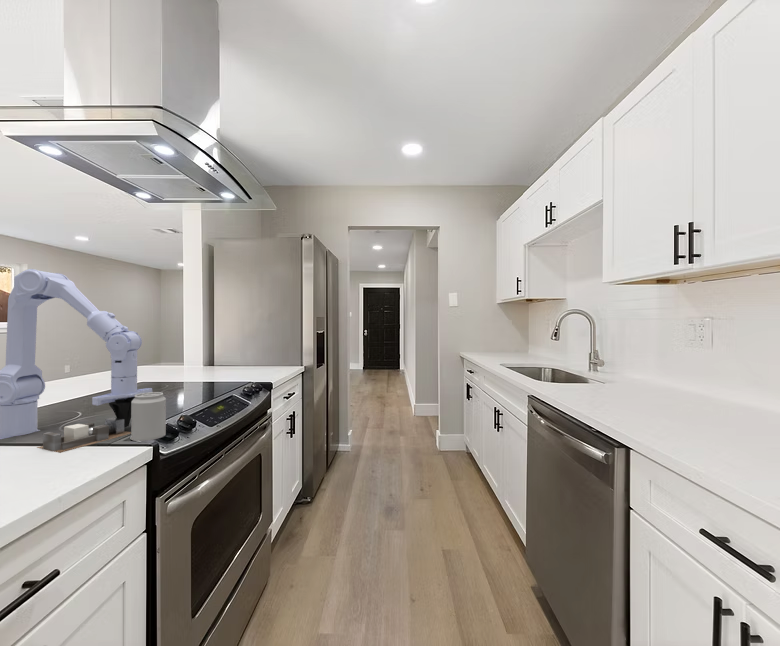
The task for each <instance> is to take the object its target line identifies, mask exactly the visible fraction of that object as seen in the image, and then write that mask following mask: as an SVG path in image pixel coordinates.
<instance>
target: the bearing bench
mask: <svg viewBox="0 0 780 646" xmlns="http://www.w3.org/2000/svg"><path fill="white" fill-rule="evenodd" d="M82 424H83V425H89V428H91V427H93V428H92V435H91V436H87V437H83V438H79V439H75V440H71V441H67V442H64V435H62V434H61V433H55V432H52V431H48V432H44V433H42V446H37V447H36V448H37V449H42V450H46V451H50V452H53V453H54V452H55V453H58V454H61V453H66V452H69V451H73V450H75V449H80V448H83V447H84V448H85V447H86V446H90V445H94V444H97V443H102V442H105V441H109V440H112V439H116V438H120V437H123V436H127V435H131V431H125V430H124V432H122V433H118V434H114V433H109V426H106V425H104V424H101V425H102V426H100V425H96V426H97V427H95V423H94V422H86V423H82Z"/></svg>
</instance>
